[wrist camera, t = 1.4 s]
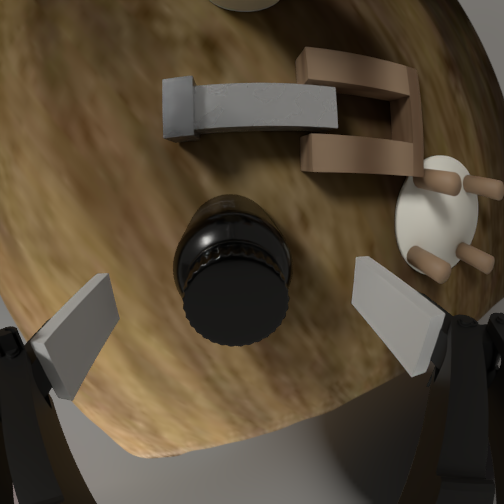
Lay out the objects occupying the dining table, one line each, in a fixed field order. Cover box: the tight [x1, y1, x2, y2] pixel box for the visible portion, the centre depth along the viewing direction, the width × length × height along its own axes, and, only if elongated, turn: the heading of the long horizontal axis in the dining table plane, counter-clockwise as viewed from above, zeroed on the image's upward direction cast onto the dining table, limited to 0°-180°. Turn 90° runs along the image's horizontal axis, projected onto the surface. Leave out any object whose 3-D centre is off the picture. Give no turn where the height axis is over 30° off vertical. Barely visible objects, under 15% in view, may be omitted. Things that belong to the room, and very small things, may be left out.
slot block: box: [295, 47, 424, 177], centre depth 19 cm, size 10×10×3 cm
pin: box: [163, 76, 338, 143], centre depth 18 cm, size 12×4×4 cm, turn 92°
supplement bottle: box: [173, 194, 293, 346], centre depth 18 cm, size 7×7×12 cm
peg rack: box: [395, 155, 504, 284], centre depth 22 cm, size 13×13×6 cm
